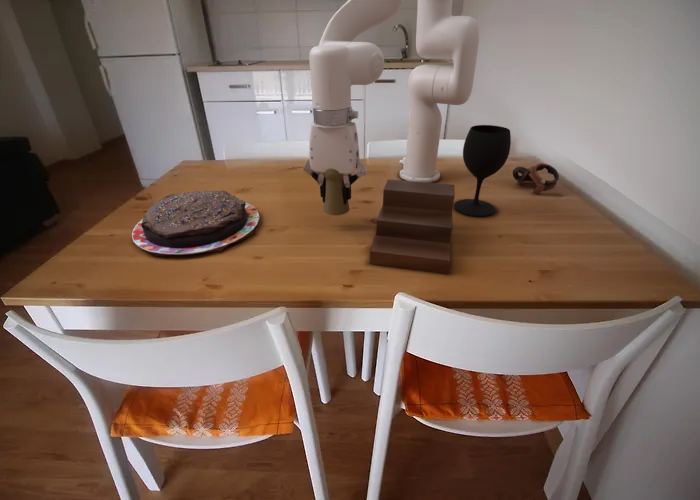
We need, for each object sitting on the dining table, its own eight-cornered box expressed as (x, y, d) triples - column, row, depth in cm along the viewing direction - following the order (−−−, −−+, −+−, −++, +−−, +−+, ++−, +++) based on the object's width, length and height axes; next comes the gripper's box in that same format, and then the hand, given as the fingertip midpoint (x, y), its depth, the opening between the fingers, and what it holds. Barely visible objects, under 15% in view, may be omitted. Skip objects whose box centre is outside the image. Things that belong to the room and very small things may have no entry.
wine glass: (502, 207, 92) (521, 128, 82) (484, 221, 86) (502, 137, 75) (465, 197, 98) (479, 122, 88) (446, 208, 92) (458, 129, 81)
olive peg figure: (350, 204, 84) (349, 158, 78) (348, 215, 79) (347, 167, 73) (325, 203, 84) (322, 158, 78) (321, 215, 79) (318, 167, 73)
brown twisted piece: (544, 183, 108) (562, 165, 101) (543, 207, 103) (562, 189, 96) (506, 171, 108) (521, 152, 101) (504, 194, 104) (519, 176, 97)
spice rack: (447, 273, 67) (455, 226, 62) (369, 263, 70) (371, 218, 65) (448, 224, 85) (454, 184, 79) (385, 217, 88) (387, 179, 82)
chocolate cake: (256, 252, 74) (252, 224, 70) (112, 265, 70) (99, 236, 67) (262, 199, 97) (259, 176, 94) (154, 207, 94) (147, 183, 90)
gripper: (377, 113, 72) (375, 197, 82) (299, 111, 75) (306, 191, 85) (370, 122, 66) (369, 211, 76) (285, 119, 69) (295, 204, 79)
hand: (336, 200), depth 80 cm, fingers closed on olive peg figure, 4 cm apart
